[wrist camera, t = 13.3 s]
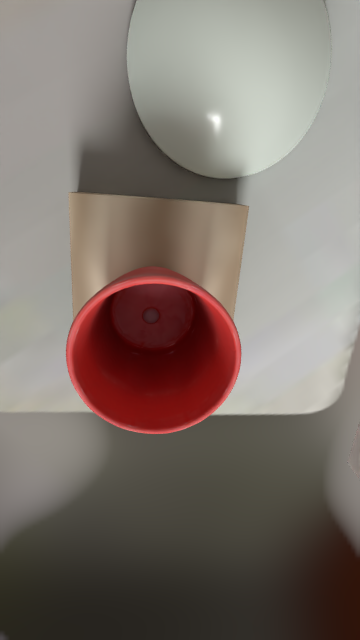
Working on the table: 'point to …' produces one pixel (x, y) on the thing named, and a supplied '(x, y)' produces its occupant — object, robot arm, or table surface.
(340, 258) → the table surface
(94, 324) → the flower pot
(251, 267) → the table surface
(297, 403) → the table surface
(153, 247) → the stand
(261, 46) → the pale grey round plate
